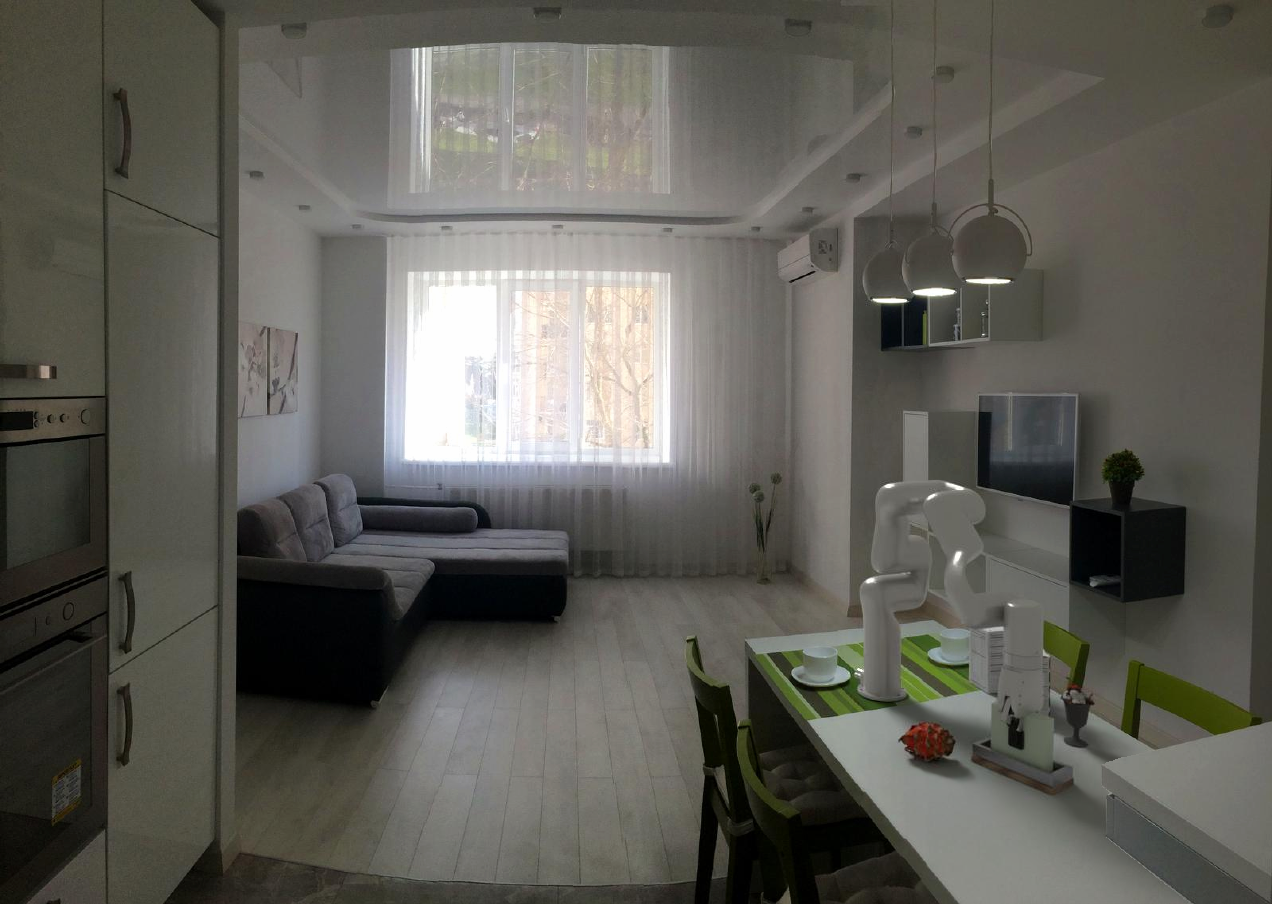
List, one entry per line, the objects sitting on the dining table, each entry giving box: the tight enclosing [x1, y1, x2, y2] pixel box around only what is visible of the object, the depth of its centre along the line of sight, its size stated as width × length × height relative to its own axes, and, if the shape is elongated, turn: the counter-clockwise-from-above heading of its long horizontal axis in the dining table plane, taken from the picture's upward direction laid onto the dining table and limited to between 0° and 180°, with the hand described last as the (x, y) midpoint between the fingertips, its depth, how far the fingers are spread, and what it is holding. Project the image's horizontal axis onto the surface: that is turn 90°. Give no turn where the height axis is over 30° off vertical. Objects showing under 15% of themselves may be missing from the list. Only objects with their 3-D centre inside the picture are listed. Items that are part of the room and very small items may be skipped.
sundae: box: [1060, 676, 1095, 748], centre depth 181 cm, size 7×7×15 cm
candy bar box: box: [1039, 648, 1052, 717], centre depth 198 cm, size 11×5×16 cm, turn 168°
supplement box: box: [968, 627, 1003, 695], centre depth 216 cm, size 10×9×17 cm
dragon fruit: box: [897, 721, 957, 762], centre depth 176 cm, size 8×8×12 cm
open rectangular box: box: [970, 735, 1075, 796], centre depth 169 cm, size 18×8×4 cm, turn 33°
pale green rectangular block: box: [990, 700, 1055, 772], centre depth 168 cm, size 12×3×11 cm, turn 33°
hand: (1021, 744), depth 168 cm, fingers closed on pale green rectangular block, 3 cm apart
